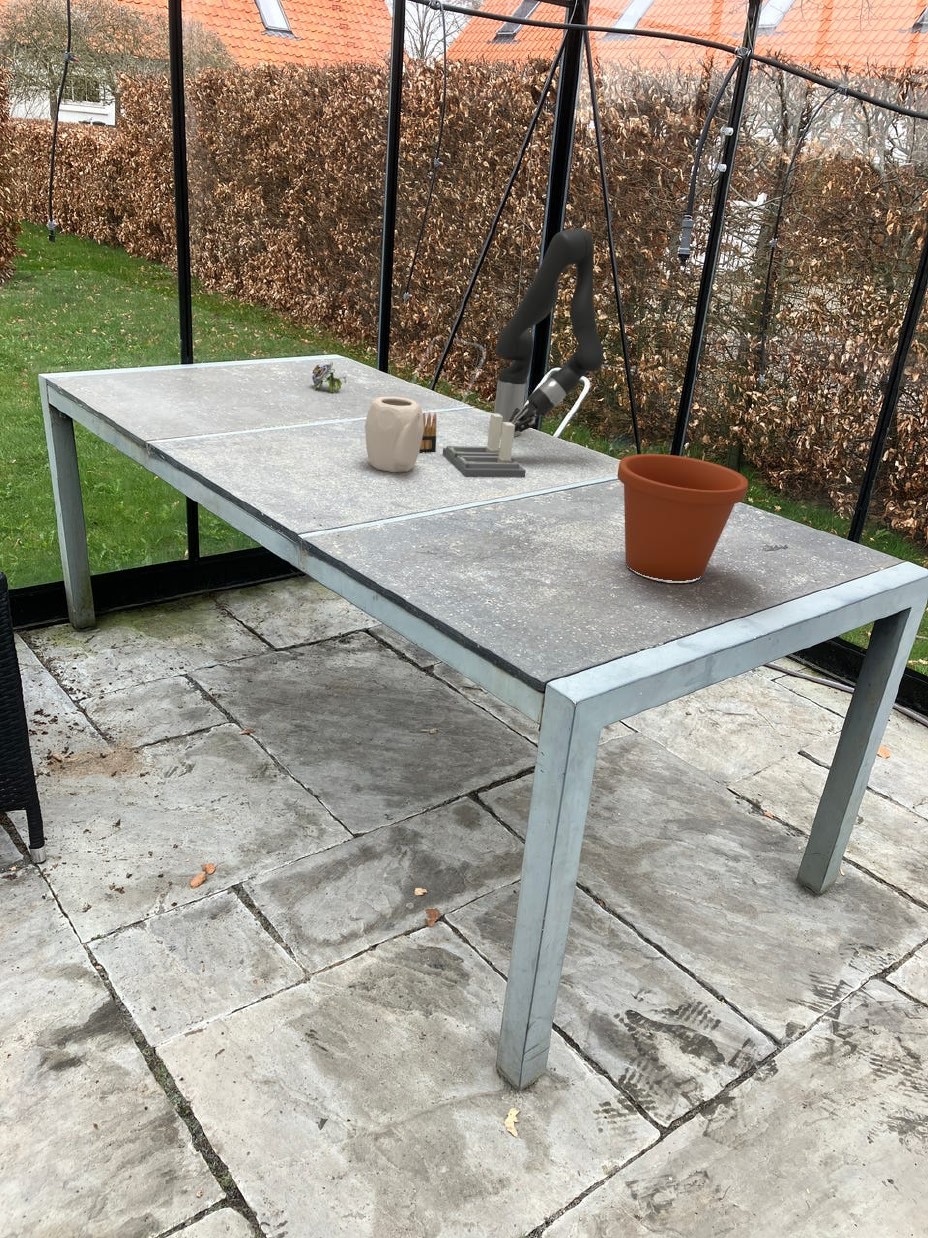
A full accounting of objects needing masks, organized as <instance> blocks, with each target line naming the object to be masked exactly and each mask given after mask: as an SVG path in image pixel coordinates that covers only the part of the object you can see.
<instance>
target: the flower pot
mask: <svg viewBox="0 0 928 1238" xmlns="http://www.w3.org/2000/svg"><path fill="white" fill-rule="evenodd" d="M617 470H618V471H617V479H618V481H620V482H621V483H622V484H623V498H624V499H623V500H624V502H623V503H624V504H623V505H624V547H625V548H624V551H625V553H624V554H625V556H624V558H625V561H626V562H625V561H624V562H625V565H626V564H627V566H628V567H629V568H631V569H632V570H634V571H636V572H638V573H640V574H642V575H645V576H649V577H653V578H658V579H663V580H672V581H686V580H693V579H696V578H699V577H700V576H702V577H703V575H704V573H705V570H706V569H707V567H708V564H709V562H710V559H711V558H712V556H713V553H714V551H715V548H716V547H717V544H718V542H719V540H720V538H721V535H722V534H723V531H724V529H725V527H726V524H727V522H728V520H729V518H730V516H731V514H732V512H733V509H734V507H735V505H736V504H737V503H741V502H742V501H744V500H745V499H746V496H747V492H748V487H749V480H748V479H747V478H746V477H745V476H744V475H743V474H741V473H740V472H738V471H736V470H733V469H731V468H728V467H726V466H723V465H720V464H719V463H718V464H717V463H714V462H710V461H706V460H702V459H698V458H693V457H687V456H681V455H674V454H673V455H671V454H664V453H663V454H661V453H660V454H659V453H643V454H640V453H639V454H633V455H627V456H625V457H623V458H622V459H621V460H619V464H618V469H617ZM627 566H626V567H627Z"/></svg>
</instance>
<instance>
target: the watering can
mask: <svg viewBox="0 0 928 1238" xmlns="http://www.w3.org/2000/svg"><path fill="white" fill-rule="evenodd" d="M421 407H422V406H421V405H420V404H419V403H418V402H416V401H415V400H413V399H411V398H406V397H401V396H379V397H377V398H375V399H374V400H373V401H372V402H371V404H370V407H369V409H368V410H367V414H366V419H365V424H364V429H365V430H364V431H365V433H364V434H365V445H366V448H365V449H366V453H367V457H368V462H369V464H370V466H372V467H373V468H375V469H376V470H379V471H386V472H390V473H400V472H403V473H405V472H409V471H410V470H411V469H413V468H414V466H415V464H416V462H417V459H418V456H419V454H420V453H419V451H420V446H421V442H422V437H423V432H424V422H423V411H422V408H421Z"/></svg>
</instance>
